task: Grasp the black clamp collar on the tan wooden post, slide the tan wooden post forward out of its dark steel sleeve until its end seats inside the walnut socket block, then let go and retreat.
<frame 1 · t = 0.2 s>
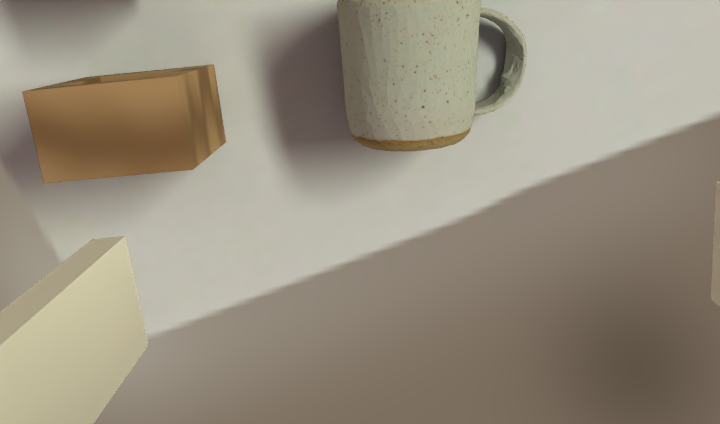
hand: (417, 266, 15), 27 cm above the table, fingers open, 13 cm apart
socket: (156, 109, 42), on the table
ceramic mug: (429, 56, 41), on the table
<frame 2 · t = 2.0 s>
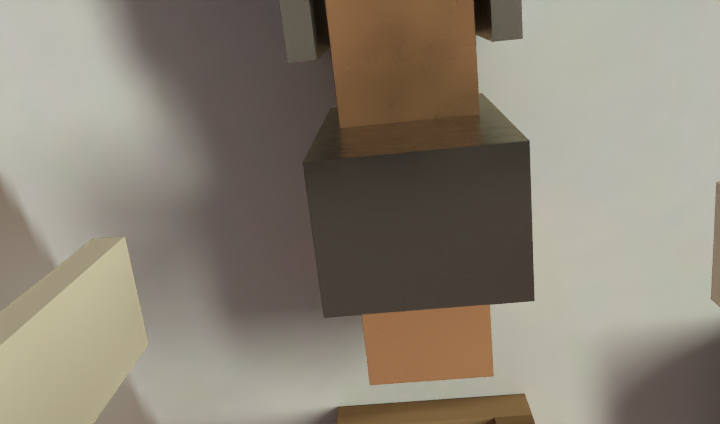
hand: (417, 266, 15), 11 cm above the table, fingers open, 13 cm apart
tan wooden post: (404, 68, 19), point 6 cm above the table, slide at 0.0 cm
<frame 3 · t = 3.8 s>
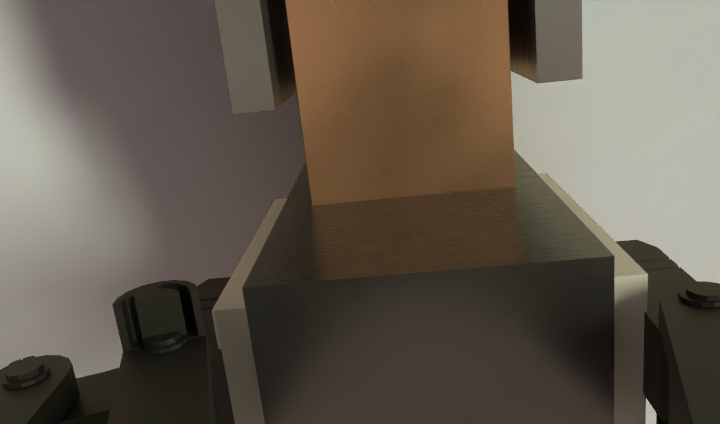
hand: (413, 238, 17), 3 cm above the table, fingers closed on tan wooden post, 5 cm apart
tan wooden post: (406, 120, 13), point 6 cm above the table, slide at 0.0 cm, touching gripper
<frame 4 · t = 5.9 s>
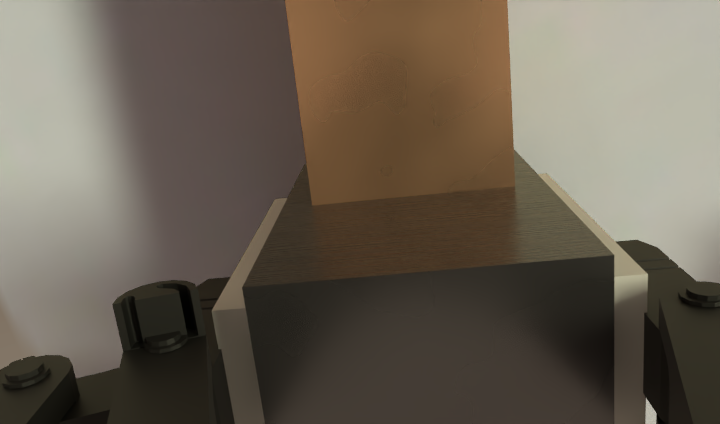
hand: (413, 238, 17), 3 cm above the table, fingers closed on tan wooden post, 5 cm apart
tan wooden post: (406, 120, 13), point 6 cm above the table, slide at 7.7 cm, touching gripper
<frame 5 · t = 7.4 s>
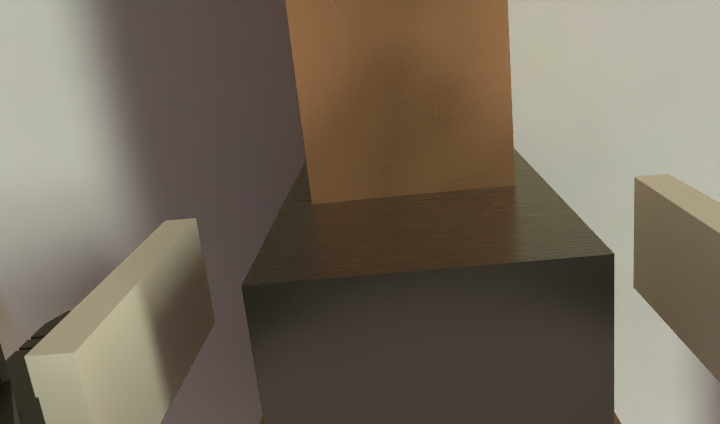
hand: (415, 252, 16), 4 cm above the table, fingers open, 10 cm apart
tan wooden post: (405, 119, 13), point 6 cm above the table, slide at 7.8 cm
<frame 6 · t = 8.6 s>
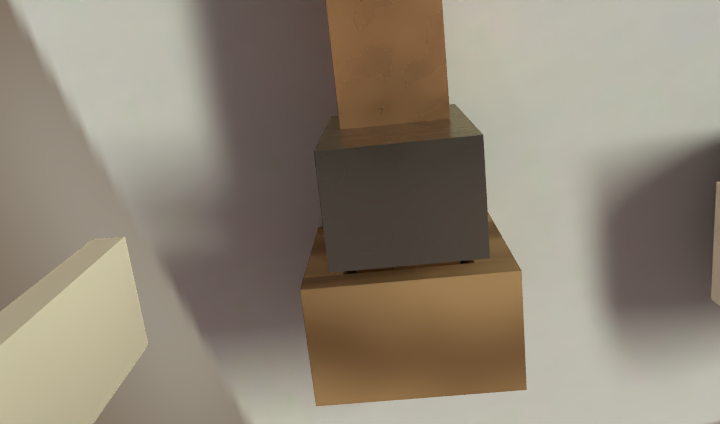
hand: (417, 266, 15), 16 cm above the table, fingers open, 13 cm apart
socket: (406, 267, 32), on the table
tan wooden post: (391, 82, 24), point 6 cm above the table, slide at 7.8 cm
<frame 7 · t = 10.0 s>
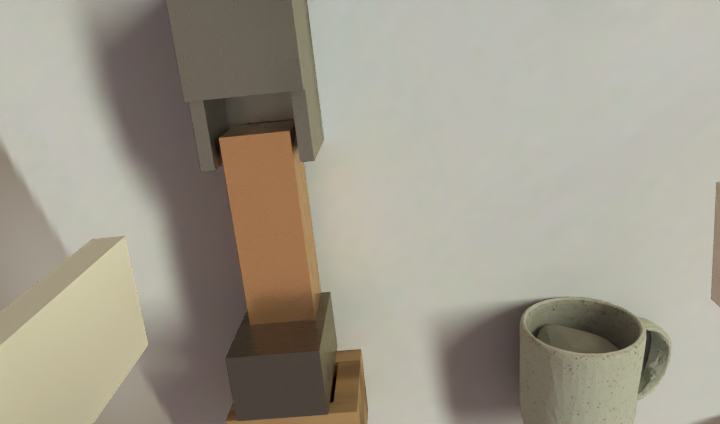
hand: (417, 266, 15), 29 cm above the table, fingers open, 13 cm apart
sleeve: (263, 66, 42), on the table
socket: (309, 383, 48), on the table
tan wooden post: (279, 299, 40), point 6 cm above the table, slide at 7.8 cm
ceramic mug: (582, 342, 47), on the table
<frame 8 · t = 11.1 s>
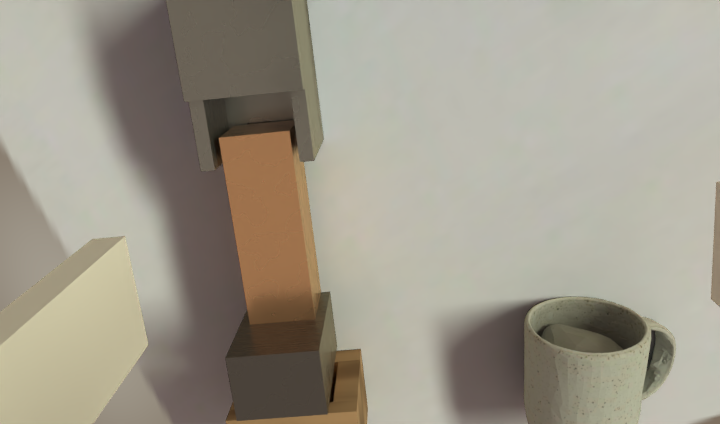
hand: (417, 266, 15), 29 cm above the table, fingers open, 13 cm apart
sleeve: (263, 65, 42), on the table
socket: (309, 383, 49), on the table
tan wooden post: (278, 299, 40), point 6 cm above the table, slide at 7.8 cm
ceramic mug: (586, 342, 47), on the table
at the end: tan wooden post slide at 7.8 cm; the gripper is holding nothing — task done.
